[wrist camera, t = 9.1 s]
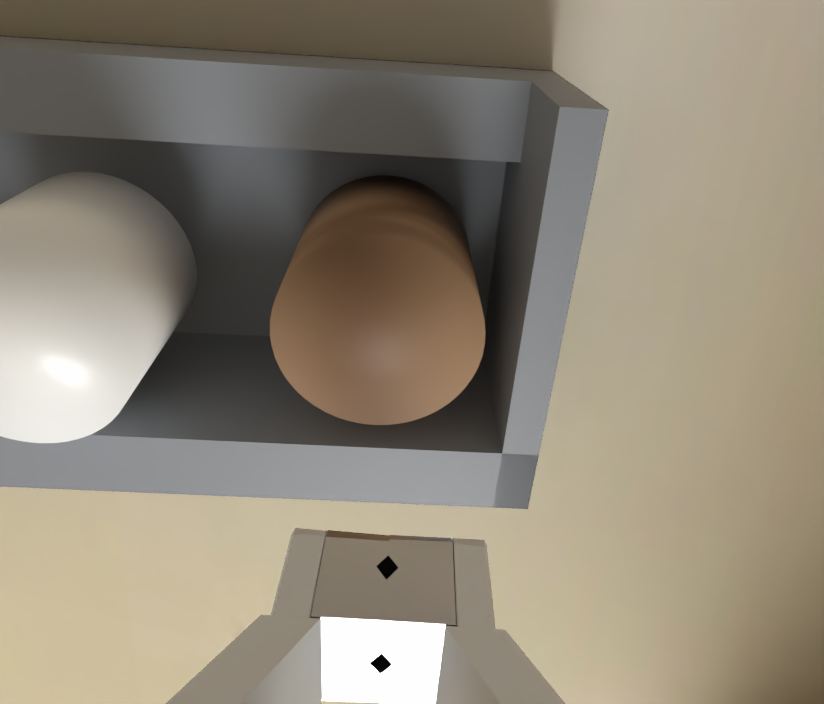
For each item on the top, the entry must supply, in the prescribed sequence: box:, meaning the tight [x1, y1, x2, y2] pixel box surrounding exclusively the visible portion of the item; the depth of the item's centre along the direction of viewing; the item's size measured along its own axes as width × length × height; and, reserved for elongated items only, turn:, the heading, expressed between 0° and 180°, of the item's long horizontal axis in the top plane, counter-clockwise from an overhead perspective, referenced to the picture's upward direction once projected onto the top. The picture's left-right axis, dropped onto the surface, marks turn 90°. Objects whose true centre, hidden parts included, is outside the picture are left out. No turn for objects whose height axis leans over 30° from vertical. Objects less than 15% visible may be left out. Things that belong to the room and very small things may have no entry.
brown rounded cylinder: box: [270, 175, 486, 425], centre depth 18 cm, size 5×5×5 cm
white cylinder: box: [0, 171, 197, 443], centre depth 16 cm, size 5×5×5 cm
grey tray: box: [0, 36, 609, 509], centre depth 18 cm, size 25×11×6 cm, turn 87°
